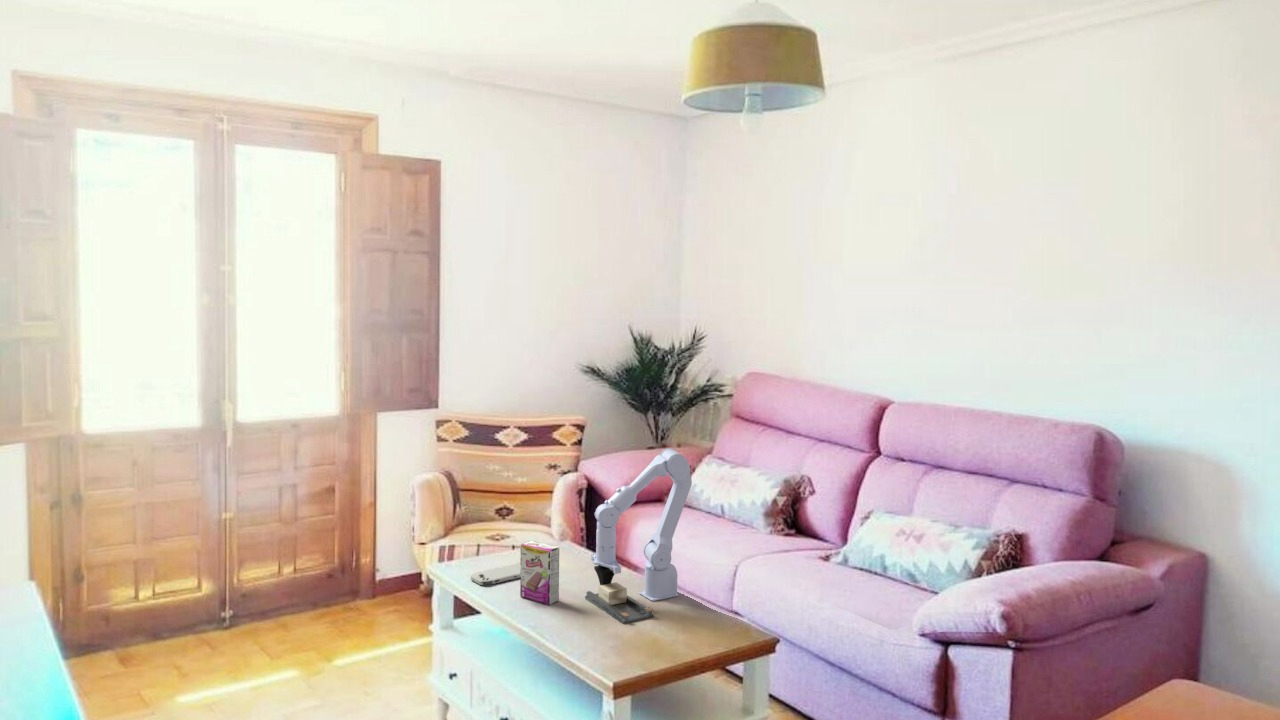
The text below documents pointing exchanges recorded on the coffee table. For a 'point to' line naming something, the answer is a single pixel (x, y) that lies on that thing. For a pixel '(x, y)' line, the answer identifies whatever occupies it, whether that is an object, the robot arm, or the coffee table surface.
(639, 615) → the chute
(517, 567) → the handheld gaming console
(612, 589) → the block
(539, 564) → the candy bar box
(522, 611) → the coffee table surface
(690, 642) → the coffee table surface
